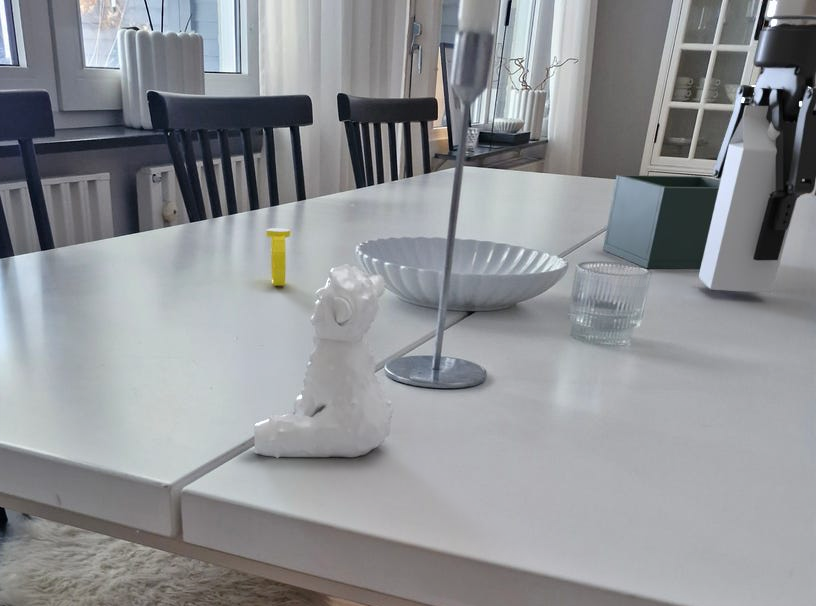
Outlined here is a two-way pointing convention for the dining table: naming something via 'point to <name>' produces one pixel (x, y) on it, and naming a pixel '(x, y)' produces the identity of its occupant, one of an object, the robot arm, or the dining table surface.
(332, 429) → the white creature statuette
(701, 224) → the box
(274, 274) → the yellow capped post
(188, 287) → the dining table surface
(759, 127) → the milk carton
